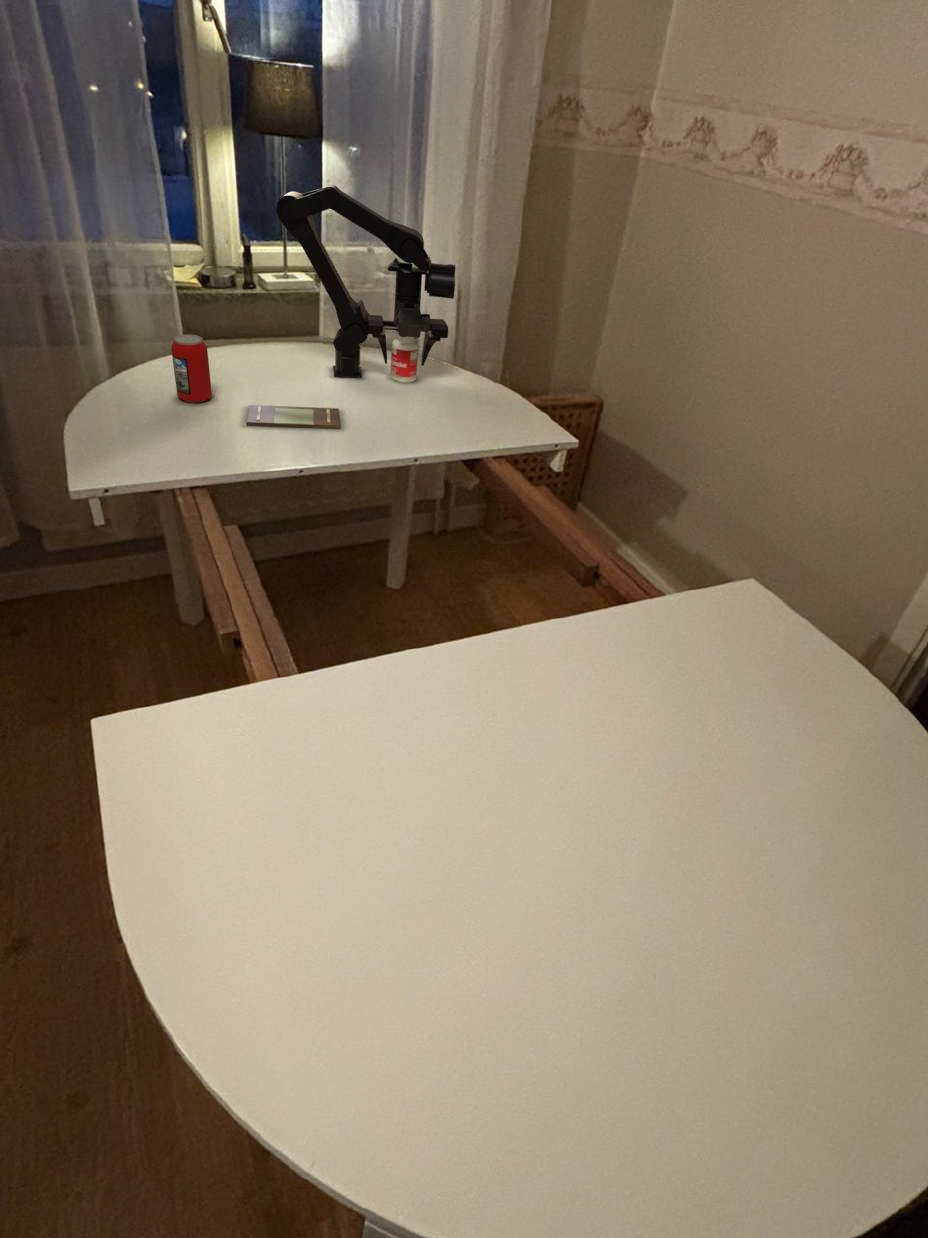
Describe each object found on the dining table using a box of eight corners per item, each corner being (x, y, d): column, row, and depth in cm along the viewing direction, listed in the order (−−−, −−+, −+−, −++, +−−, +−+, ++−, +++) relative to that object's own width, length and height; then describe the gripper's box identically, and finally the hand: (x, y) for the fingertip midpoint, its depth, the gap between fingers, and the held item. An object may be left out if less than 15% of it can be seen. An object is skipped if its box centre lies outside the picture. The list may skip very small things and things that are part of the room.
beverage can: (175, 393, 153) (167, 333, 146) (209, 391, 155) (203, 332, 148) (180, 405, 148) (172, 344, 141) (215, 403, 151) (209, 343, 144)
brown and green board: (249, 408, 150) (248, 403, 150) (338, 411, 154) (338, 407, 153) (246, 426, 143) (246, 421, 143) (340, 429, 147) (340, 424, 146)
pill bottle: (384, 377, 174) (386, 329, 168) (402, 372, 178) (405, 325, 172) (404, 385, 171) (407, 336, 165) (421, 379, 176) (425, 332, 169)
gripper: (368, 300, 156) (366, 374, 165) (455, 306, 159) (448, 377, 168) (364, 287, 164) (363, 358, 173) (447, 293, 168) (441, 362, 177)
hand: (404, 364), depth 173 cm, fingers open, 8 cm apart
